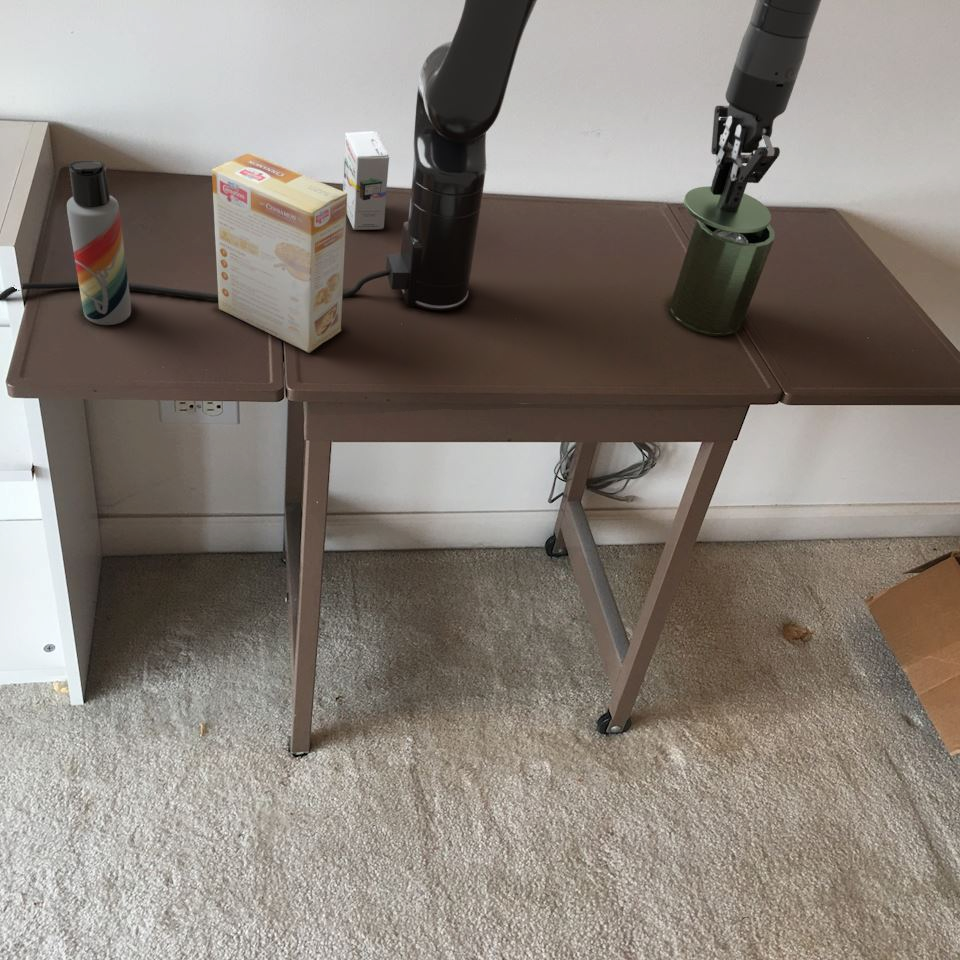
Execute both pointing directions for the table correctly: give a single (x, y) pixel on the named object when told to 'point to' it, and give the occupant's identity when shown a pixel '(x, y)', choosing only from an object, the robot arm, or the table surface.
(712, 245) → the trash can
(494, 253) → the table surface
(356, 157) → the ink box
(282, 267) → the coffeecake box
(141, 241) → the table surface
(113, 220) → the lotion bottle
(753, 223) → the bin lid
